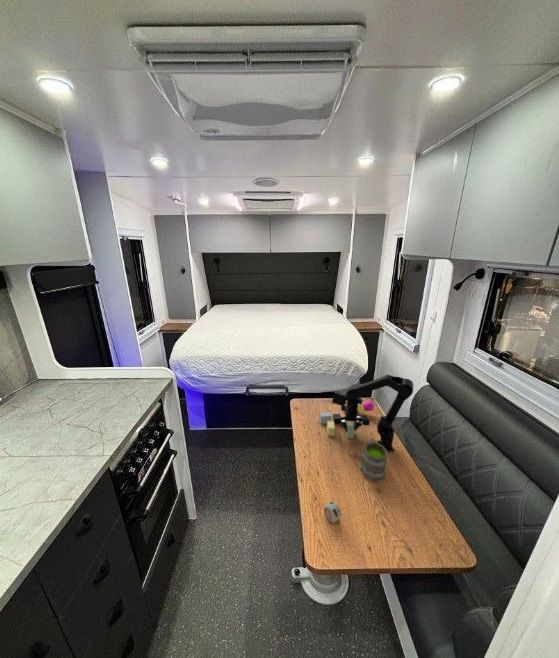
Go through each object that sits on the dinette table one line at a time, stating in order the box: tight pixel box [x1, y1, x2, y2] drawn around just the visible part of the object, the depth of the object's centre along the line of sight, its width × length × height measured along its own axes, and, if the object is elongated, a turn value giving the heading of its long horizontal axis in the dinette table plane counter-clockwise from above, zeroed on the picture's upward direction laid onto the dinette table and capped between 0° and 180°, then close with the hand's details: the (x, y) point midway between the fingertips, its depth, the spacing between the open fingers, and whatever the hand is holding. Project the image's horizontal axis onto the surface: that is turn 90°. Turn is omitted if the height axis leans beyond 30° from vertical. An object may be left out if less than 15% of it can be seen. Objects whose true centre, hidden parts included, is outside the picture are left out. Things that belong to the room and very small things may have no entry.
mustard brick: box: [326, 420, 336, 437], centre depth 142 cm, size 6×4×5 cm, turn 177°
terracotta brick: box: [333, 411, 346, 426], centre depth 150 cm, size 6×4×5 cm, turn 57°
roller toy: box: [323, 501, 342, 524], centre depth 97 cm, size 4×6×6 cm
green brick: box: [345, 422, 356, 439], centre depth 141 cm, size 6×4×5 cm, turn 177°
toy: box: [357, 400, 375, 416], centre depth 157 cm, size 10×18×10 cm, turn 93°
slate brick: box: [319, 411, 333, 425], centre depth 151 cm, size 6×4×5 cm, turn 97°
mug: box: [359, 437, 390, 482], centre depth 118 cm, size 16×11×12 cm
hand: (349, 432), depth 141 cm, fingers closed on green brick, 3 cm apart
